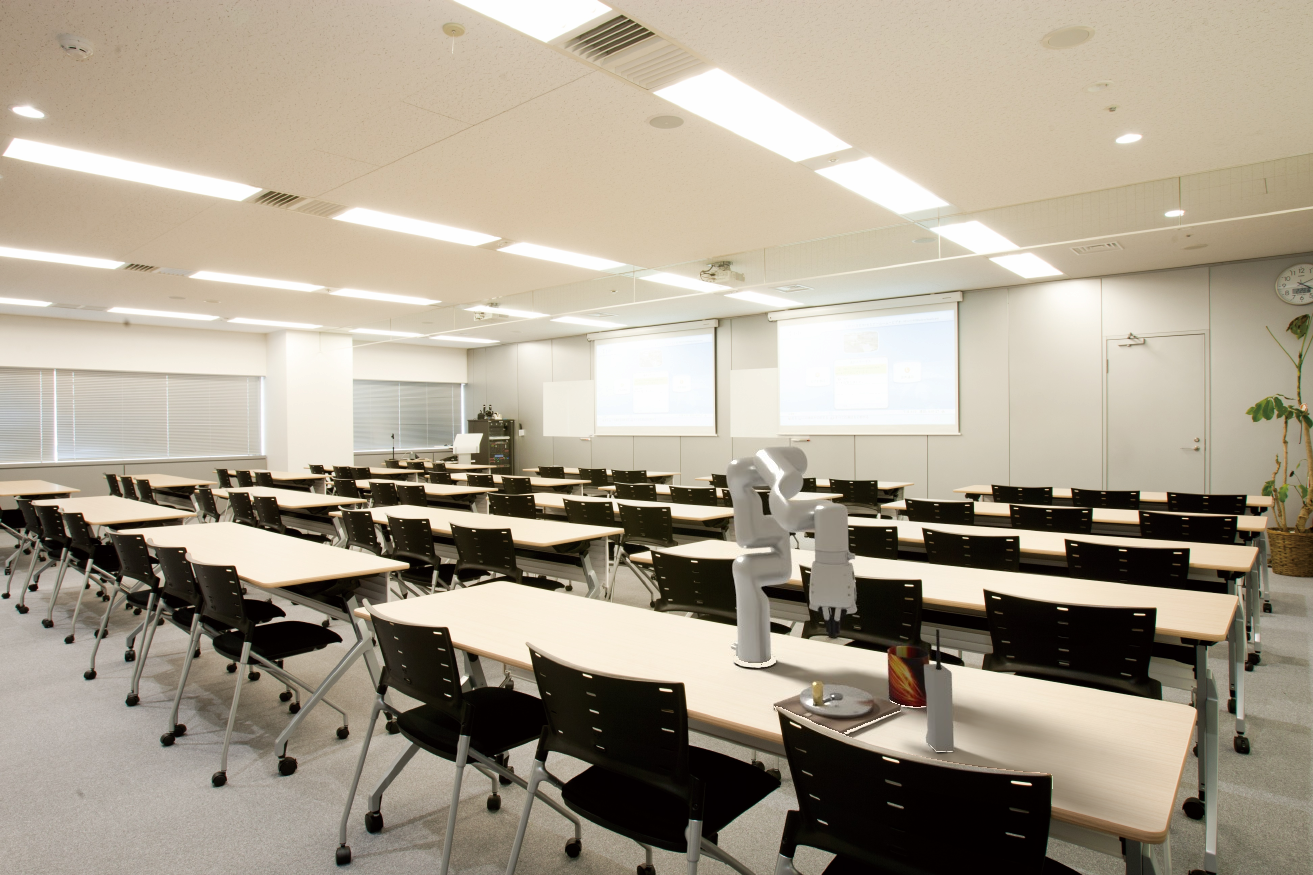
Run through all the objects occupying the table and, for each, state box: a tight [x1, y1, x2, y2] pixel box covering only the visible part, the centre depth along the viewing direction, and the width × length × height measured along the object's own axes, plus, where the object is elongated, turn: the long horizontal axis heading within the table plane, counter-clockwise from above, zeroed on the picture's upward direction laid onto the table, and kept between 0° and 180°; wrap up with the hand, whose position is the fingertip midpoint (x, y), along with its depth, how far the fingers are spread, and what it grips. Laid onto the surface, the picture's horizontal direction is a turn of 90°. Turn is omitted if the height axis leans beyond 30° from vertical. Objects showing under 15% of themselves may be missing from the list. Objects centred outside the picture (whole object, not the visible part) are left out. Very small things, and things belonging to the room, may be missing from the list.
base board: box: [773, 682, 902, 736], centre depth 163 cm, size 20×22×2 cm
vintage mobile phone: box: [924, 629, 955, 752], centre depth 143 cm, size 4×5×25 cm
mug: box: [887, 645, 930, 707], centre depth 166 cm, size 10×14×12 cm
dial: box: [799, 680, 874, 718], centre depth 163 cm, size 17×17×6 cm
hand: (833, 635), depth 158 cm, fingers closed
